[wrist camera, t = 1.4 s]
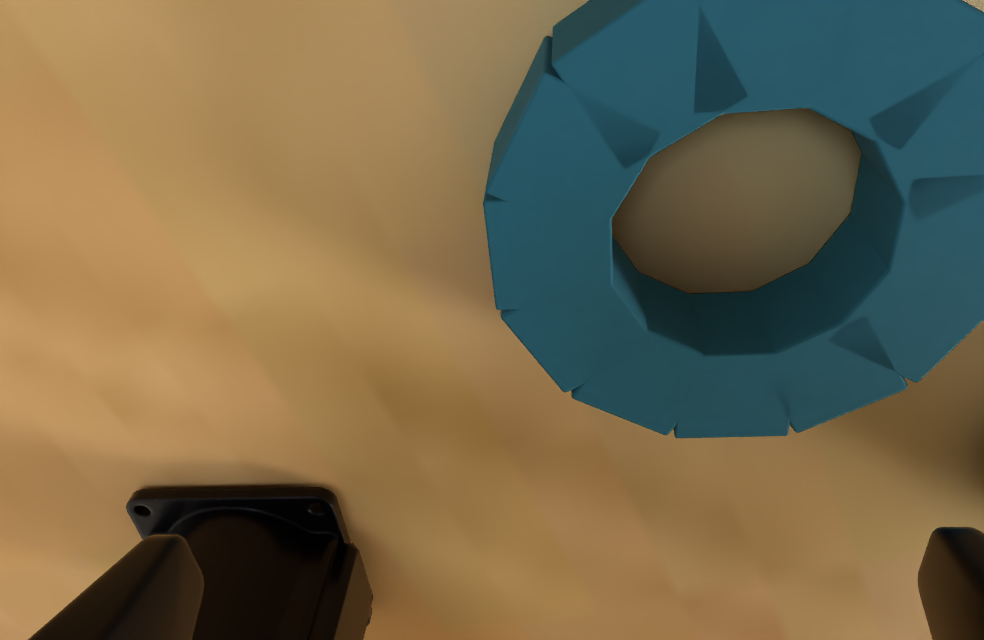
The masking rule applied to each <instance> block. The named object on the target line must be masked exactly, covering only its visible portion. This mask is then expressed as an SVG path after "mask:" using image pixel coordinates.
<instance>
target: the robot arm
mask: <svg viewBox="0 0 984 640" xmlns="http://www.w3.org/2000/svg"><path fill="white" fill-rule="evenodd" d="M126 509H127V512H128V514H129V515H130V517H131V519H132V521H133V523H134V525H135V526H136V528H137V530H138V532H139V534H140V535H141V537H142V539H143V540H142V541H141V542H140V543H139V544H137V545H136V546H135V547H134V548H133V549H132V550H131V551H129V552H128V553H127V554H126V555H125V556H124V557H123V558H121V559H120V560H119V561H118V562H117V563H116V564H114V565H113V566H112V567H111V568H110V569H109V570H108V571H106V572H105V573H104V574H103V575H102V576H101V577H100V578H98V579H97V580H96V581H95V582H94V583H93V584H91V585H90V586H89V587H88V588H87V589H86V590H85V591H83V592H82V593H81V594H80V595H79V596H78V597H77V598H75V599H74V600H73V601H72V602H71V603H70V604H68V605H67V606H66V607H65V608H64V609H63V610H62V611H60V612H59V613H58V614H57V615H56V616H55V617H54V618H52V619H51V620H50V621H49V622H48V623H47V624H45V625H44V626H43V627H42V628H41V629H40V630H39V631H37V632H36V633H35V634H34V635H33V636H32V637H31V638H29V639H28V640H363V639H364V634H365V630H366V626H368V625H369V623H370V619H371V615H372V608H371V604H372V600H373V594H372V591H371V588H370V585H369V582H368V578H367V575H366V572H365V569H364V566H363V562H362V559H361V556H360V553H359V550H358V549H357V548H356V546H355V545H354V544H353V543H351V542H350V539H349V536H348V532H347V529H346V526H345V523H344V520H343V517H342V514H341V510H340V507H339V504H338V501H337V498H336V496H335V495H334V494H333V493H332V492H331V491H330V490H327V489H325V488H320V487H287V488H222V489H158V490H138V491H136V492H134V493H133V495H132V496H131V498H130V500H129V501H128V503H127V505H126ZM918 588H919V593H920V597H921V600H922V604H923V607H924V611H925V614H926V618H927V621H928V625H929V628H930V632H931V635H932V639H933V640H984V534H983V533H982V532H981V531H979V530H977V529H975V528H971V527H940V528H937V529H935V530H934V531H933V532H932V534H931V536H930V539H929V542H928V545H927V548H926V551H925V554H924V557H923V560H922V563H921V566H920V569H919V572H918Z"/></svg>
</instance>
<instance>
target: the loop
mask: <svg viewBox="0 0 984 640" xmlns="http://www.w3.org/2000/svg"><path fill="white" fill-rule="evenodd" d="M797 108H808V109H810V110H812V111H814V112H816V113H818V114H820V115H822V116H824V117H826V118H828V119H830V120H832V121H834V122H836V123H838V124H840V125H842V126H844V127H846V128H848V129H850V130H851V131H852V133H853V135H854V137H855V140H856V142H857V144H858V146H859V148H860V150H861V152H862V155H861V160H860V166H859V171H858V177H857V182H856V188H855V193H854V199H853V204H852V210H851V214H850V215H849V216H848V218H847V219H846V220H845V221H844V222H843V224H842V225H841V226H840V227H839V228H838V230H837V231H836V232H835V233H834V234H833V236H832V237H831V238H830V239H829V240H828V242H827V243H826V244H825V245H824V247H823V248H822V249H821V250H820V251H819V253H818V254H817V255H816V256H815V257H814V259H813V260H812V261H811V262H810V263H809V264H807V265H805V266H803V267H801V268H799V269H797V270H795V271H793V272H791V273H789V274H787V275H785V276H783V277H780V278H778V279H776V280H774V281H772V282H770V283H768V284H766V285H764V286H762V287H760V288H758V289H756V290H754V291H746V292H723V293H701V294H687V293H685V292H683V291H680V290H678V289H676V288H673V287H671V286H669V285H667V284H664V283H662V282H660V281H658V280H655V279H653V278H651V277H648V276H646V275H644V274H642V273H639V272H638V271H637V269H636V268H635V267H634V265H633V264H632V262H631V261H630V259H629V258H628V257H627V255H626V254H625V252H624V251H623V249H622V248H621V247H620V245H619V244H618V242H617V241H616V239H615V238H614V237H613V235H612V218H613V216H614V214H615V213H616V211H617V210H618V208H619V206H620V205H621V203H622V201H623V200H624V198H625V197H626V195H627V193H628V192H629V190H630V188H631V187H632V185H633V184H634V182H635V180H636V179H637V177H638V176H639V174H640V172H641V171H642V169H643V167H644V166H645V164H646V163H647V161H648V159H649V158H650V157H651V156H652V155H654V154H656V153H658V152H659V151H661V150H663V149H664V148H666V147H668V146H669V145H671V144H673V143H674V142H676V141H678V140H679V139H681V138H683V137H684V136H686V135H688V134H690V133H691V132H693V131H695V130H696V129H698V128H700V127H701V126H703V125H705V124H706V123H708V122H710V121H711V120H713V119H715V118H716V117H718V116H720V115H722V114H727V113H741V112H755V111H769V110H783V109H797ZM483 206H484V214H485V222H486V231H487V239H488V247H489V256H490V264H491V272H492V280H493V289H494V297H495V305H496V309H497V310H501V318H502V320H503V321H504V322H505V323H506V324H507V326H508V327H509V328H510V329H511V330H512V332H513V333H514V334H515V335H516V336H517V337H518V339H519V340H520V341H521V342H522V343H523V345H524V346H525V347H526V348H527V349H528V351H529V352H530V353H531V354H532V355H533V356H534V358H535V359H536V360H537V361H538V362H539V364H540V365H541V366H542V367H543V368H544V370H545V371H546V372H547V373H548V374H549V375H550V377H551V378H552V379H553V380H554V381H555V383H556V384H557V385H558V386H559V387H560V389H561V390H562V391H563V392H568V391H570V390H571V391H572V398H574V399H575V400H578V401H580V402H583V403H585V404H588V405H590V406H593V407H595V408H598V409H600V410H603V411H605V412H608V413H610V414H613V415H615V416H618V417H620V418H623V419H626V420H628V421H631V422H633V423H636V424H638V425H641V426H643V427H646V428H648V429H651V430H653V431H656V432H658V433H661V434H663V435H668V434H669V433H670V432H671V431H672V429H674V435H675V437H676V438H709V437H754V436H787V435H788V431H789V425H791V427H792V428H793V430H794V431H795V432H797V433H798V432H801V431H804V430H806V429H809V428H811V427H814V426H816V425H819V424H821V423H824V422H826V421H829V420H831V419H834V418H836V417H839V416H841V415H844V414H846V413H849V412H851V411H854V410H856V409H859V408H861V407H864V406H866V405H869V404H871V403H874V402H876V401H879V400H881V399H884V398H886V397H888V396H891V395H893V394H896V393H898V392H901V391H903V390H906V389H907V383H906V381H905V379H904V378H907V379H909V380H911V381H914V382H919V381H920V380H921V379H922V378H923V377H924V376H925V375H926V374H927V373H928V372H929V371H930V370H931V369H932V368H933V367H934V366H936V365H937V364H938V363H939V362H940V361H941V360H942V359H943V358H944V357H945V356H946V355H947V354H948V353H949V352H950V351H951V350H952V349H953V348H954V347H955V346H956V345H957V344H959V343H960V342H961V341H962V340H963V339H964V338H965V337H966V336H967V335H968V334H969V333H970V332H971V331H972V330H973V329H974V328H975V327H976V326H977V325H978V324H979V323H980V322H982V321H983V320H984V12H982V11H980V10H979V9H977V8H975V7H973V6H971V5H970V4H968V3H966V2H964V1H963V0H590V1H588V2H587V3H585V4H584V5H583V6H581V7H580V8H578V9H577V10H576V11H574V12H573V13H571V14H570V15H569V16H567V17H566V18H564V19H563V20H561V21H560V22H559V23H557V24H556V25H554V27H553V38H552V37H550V36H546V37H545V38H544V39H543V42H542V44H541V46H540V48H539V50H538V52H537V54H536V56H535V58H534V60H533V62H532V65H531V67H530V69H529V71H528V73H527V75H526V77H525V79H524V81H523V83H522V86H521V88H520V90H519V92H518V94H517V96H516V98H515V100H514V102H513V104H512V106H511V109H510V111H509V113H508V115H507V117H506V119H505V121H504V123H503V125H502V127H501V130H500V132H499V134H498V136H497V138H496V140H495V142H494V147H493V153H492V158H491V163H490V169H489V174H488V179H487V185H486V190H485V196H484V201H483Z"/></svg>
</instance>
